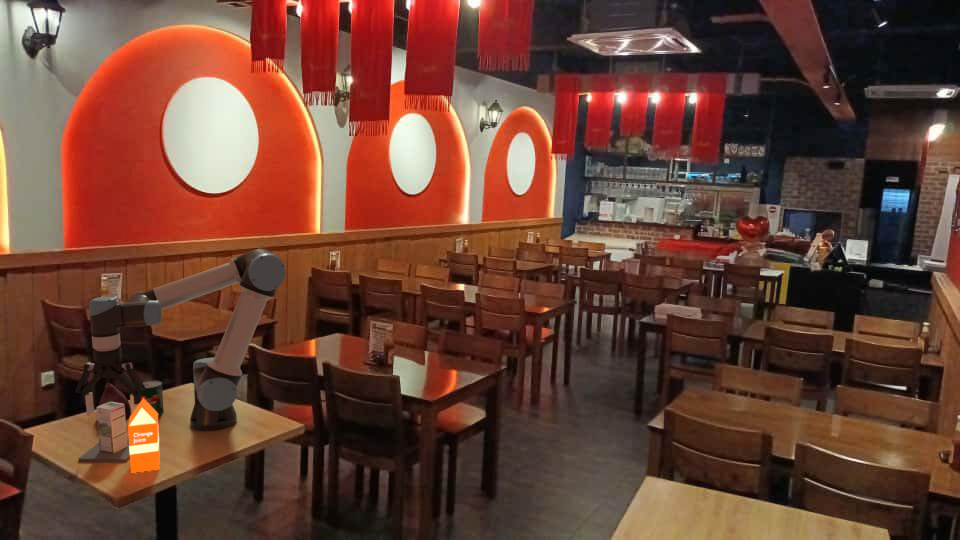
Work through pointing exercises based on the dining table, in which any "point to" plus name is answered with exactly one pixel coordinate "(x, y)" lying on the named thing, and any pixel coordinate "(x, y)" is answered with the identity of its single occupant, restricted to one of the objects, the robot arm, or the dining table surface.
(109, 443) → the syrup box
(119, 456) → the mat
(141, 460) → the orange juice
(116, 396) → the vegetable
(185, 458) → the dining table surface
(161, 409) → the canned tomato
